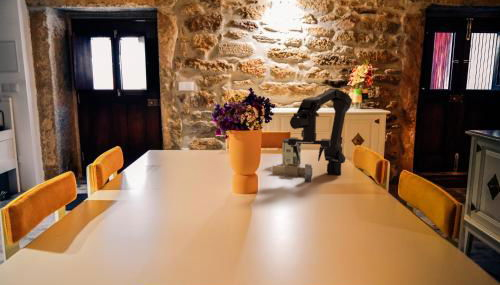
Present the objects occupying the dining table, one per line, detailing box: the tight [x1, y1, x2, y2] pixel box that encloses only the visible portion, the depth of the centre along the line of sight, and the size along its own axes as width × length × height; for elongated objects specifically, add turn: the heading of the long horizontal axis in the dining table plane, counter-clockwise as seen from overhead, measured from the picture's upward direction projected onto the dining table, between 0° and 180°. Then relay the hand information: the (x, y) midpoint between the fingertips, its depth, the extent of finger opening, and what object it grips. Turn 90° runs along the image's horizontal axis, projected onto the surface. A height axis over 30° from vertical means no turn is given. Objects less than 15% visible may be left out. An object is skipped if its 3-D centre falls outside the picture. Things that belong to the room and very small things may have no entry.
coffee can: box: [281, 137, 302, 166], centre depth 201 cm, size 10×10×14 cm
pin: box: [304, 163, 313, 183], centre depth 170 cm, size 3×3×8 cm
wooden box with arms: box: [272, 163, 313, 178], centre depth 182 cm, size 20×6×5 cm, turn 74°
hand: (308, 160), depth 169 cm, fingers open, 9 cm apart
